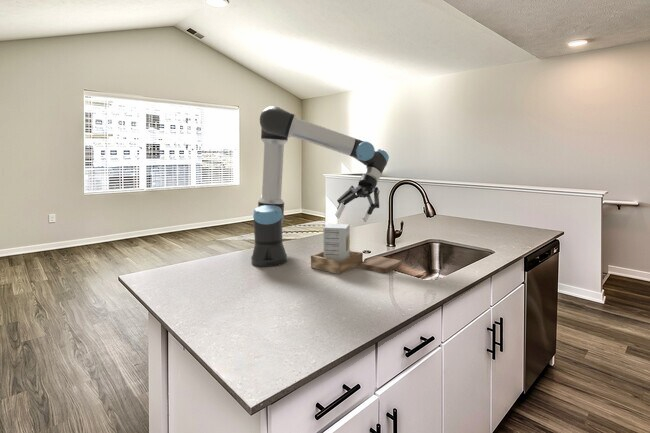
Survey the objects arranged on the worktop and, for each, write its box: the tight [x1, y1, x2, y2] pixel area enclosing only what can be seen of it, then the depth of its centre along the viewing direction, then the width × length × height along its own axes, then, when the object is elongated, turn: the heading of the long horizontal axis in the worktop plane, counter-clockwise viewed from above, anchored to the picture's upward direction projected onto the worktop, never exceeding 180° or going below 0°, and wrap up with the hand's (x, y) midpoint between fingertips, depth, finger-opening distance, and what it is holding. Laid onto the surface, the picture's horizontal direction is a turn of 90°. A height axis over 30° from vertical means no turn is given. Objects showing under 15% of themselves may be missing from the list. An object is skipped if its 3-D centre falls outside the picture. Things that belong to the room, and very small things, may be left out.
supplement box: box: [322, 223, 351, 261], centre depth 154 cm, size 10×9×17 cm
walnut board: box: [358, 255, 403, 274], centre depth 154 cm, size 12×13×2 cm
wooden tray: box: [310, 250, 364, 275], centre depth 155 cm, size 14×16×5 cm
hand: (350, 218), depth 159 cm, fingers open, 13 cm apart
